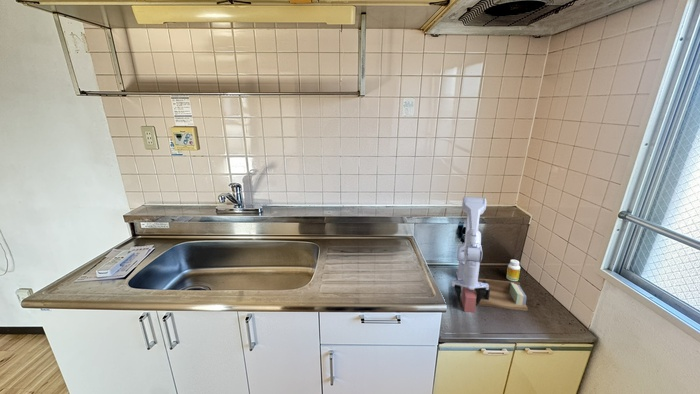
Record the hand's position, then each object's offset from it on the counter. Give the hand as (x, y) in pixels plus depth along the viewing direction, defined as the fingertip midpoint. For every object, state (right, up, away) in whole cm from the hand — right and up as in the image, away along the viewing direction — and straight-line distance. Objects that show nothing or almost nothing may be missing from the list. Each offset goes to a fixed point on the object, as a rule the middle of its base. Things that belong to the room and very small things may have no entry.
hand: (467, 301), depth 122 cm
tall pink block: (0, -2, 0) cm, 2 cm away
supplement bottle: (+31, +4, +21) cm, 38 cm away
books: (+23, 0, +3) cm, 23 cm away
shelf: (+15, -1, +4) cm, 16 cm away
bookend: (+9, +1, +6) cm, 11 cm away
